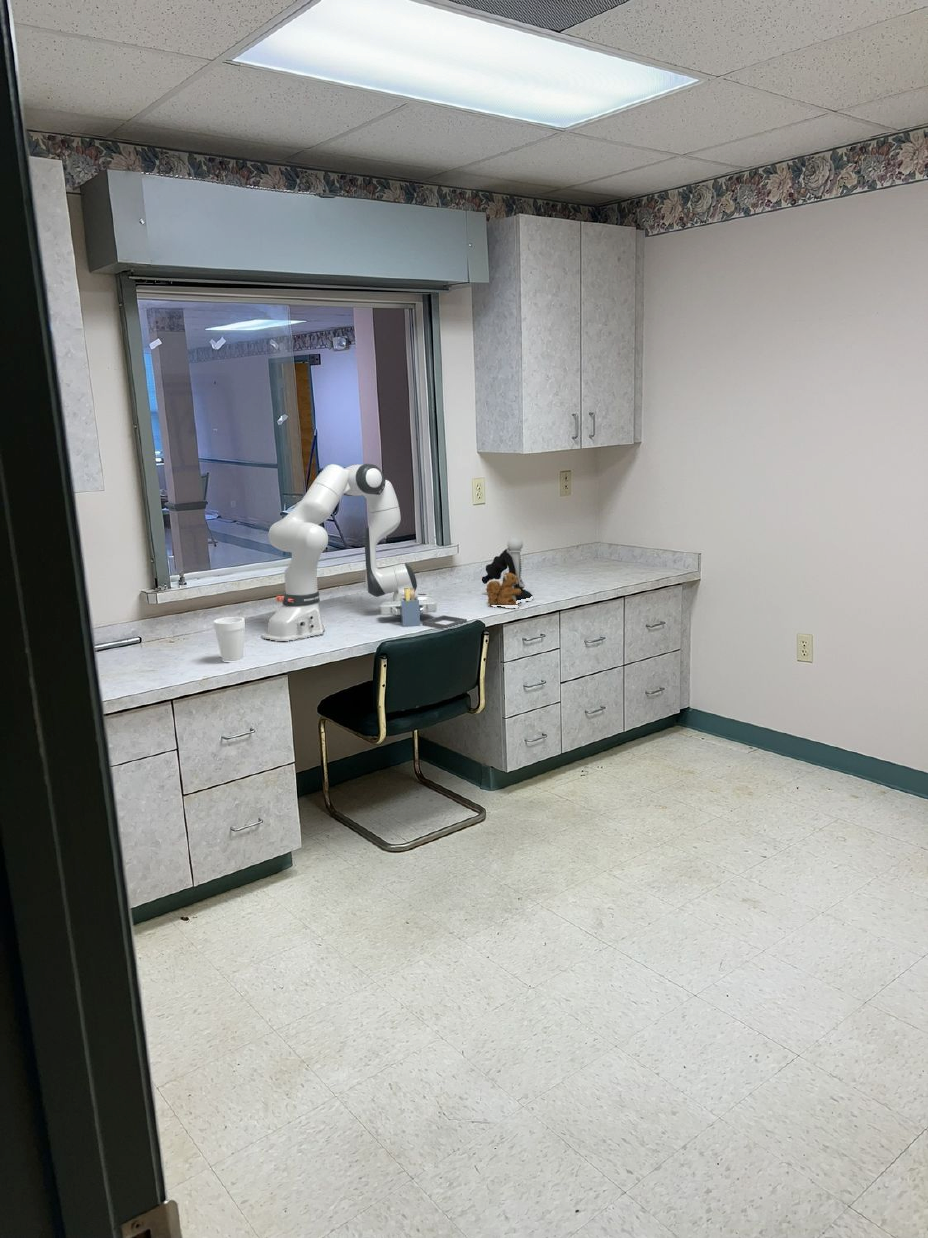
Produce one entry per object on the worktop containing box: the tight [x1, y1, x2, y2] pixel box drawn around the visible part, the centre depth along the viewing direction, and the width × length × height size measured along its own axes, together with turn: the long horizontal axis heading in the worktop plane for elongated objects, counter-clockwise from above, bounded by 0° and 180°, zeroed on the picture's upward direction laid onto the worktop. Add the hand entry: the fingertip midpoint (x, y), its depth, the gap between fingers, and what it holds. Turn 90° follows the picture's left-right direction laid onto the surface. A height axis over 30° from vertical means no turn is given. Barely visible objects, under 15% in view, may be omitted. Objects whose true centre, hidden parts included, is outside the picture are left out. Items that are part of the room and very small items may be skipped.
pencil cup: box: [400, 597, 421, 628], centre depth 327 cm, size 6×6×10 cm
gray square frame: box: [421, 615, 468, 630], centre depth 327 cm, size 11×11×2 cm
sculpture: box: [481, 537, 534, 600], centre depth 368 cm, size 15×24×25 cm, turn 51°
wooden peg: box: [410, 588, 416, 600], centre depth 327 cm, size 2×2×13 cm
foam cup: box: [213, 616, 246, 661], centre depth 289 cm, size 10×9×13 cm
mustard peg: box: [405, 589, 410, 601], centre depth 325 cm, size 2×2×13 cm
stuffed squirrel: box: [485, 572, 521, 606], centre depth 355 cm, size 10×14×13 cm
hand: (410, 611), depth 326 cm, fingers open, 7 cm apart
